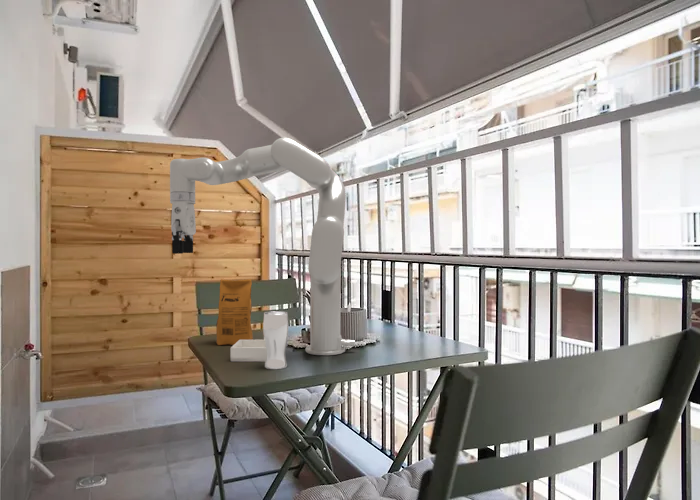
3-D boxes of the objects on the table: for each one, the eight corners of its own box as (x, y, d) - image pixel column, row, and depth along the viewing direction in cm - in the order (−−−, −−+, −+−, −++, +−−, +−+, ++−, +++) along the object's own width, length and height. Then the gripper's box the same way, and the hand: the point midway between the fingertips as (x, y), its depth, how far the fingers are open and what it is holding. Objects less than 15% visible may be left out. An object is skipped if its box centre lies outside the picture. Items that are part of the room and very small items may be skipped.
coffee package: (219, 340, 174) (218, 278, 174) (254, 339, 175) (254, 278, 175) (213, 346, 165) (212, 280, 164) (250, 345, 165) (250, 280, 165)
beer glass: (258, 368, 135) (258, 313, 135) (271, 362, 142) (271, 310, 141) (280, 370, 132) (280, 315, 132) (292, 364, 139) (292, 311, 139)
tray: (277, 352, 155) (277, 339, 155) (271, 361, 143) (271, 347, 143) (239, 352, 155) (239, 339, 155) (230, 361, 143) (230, 347, 143)
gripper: (185, 196, 146) (186, 253, 147) (202, 201, 164) (202, 252, 164) (160, 196, 146) (160, 253, 147) (180, 201, 164) (180, 252, 164)
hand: (183, 253), depth 155 cm, fingers open, 9 cm apart
